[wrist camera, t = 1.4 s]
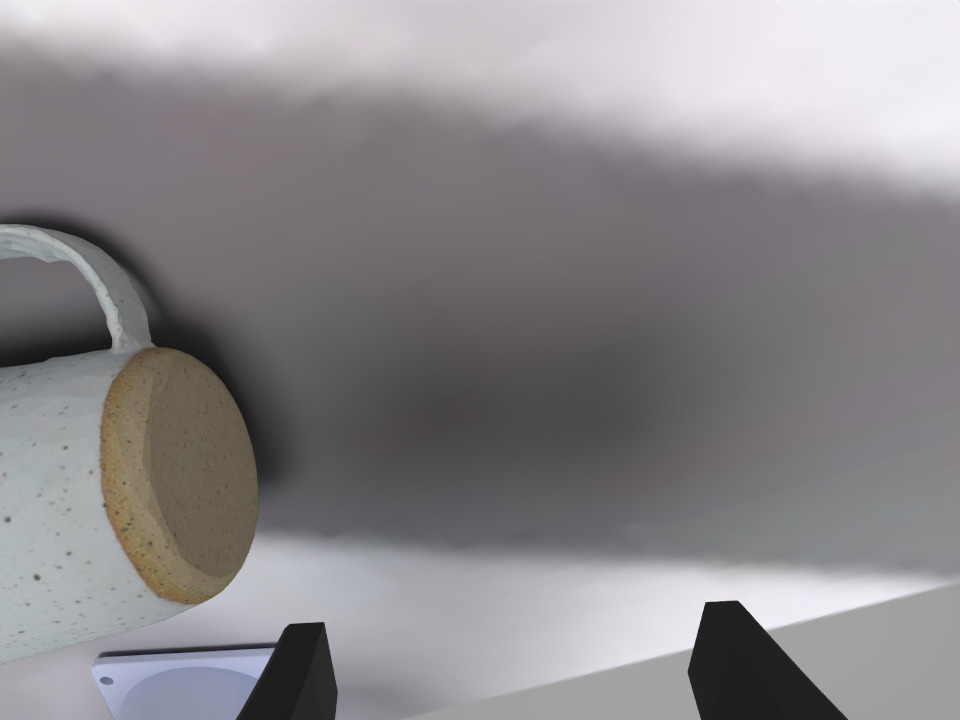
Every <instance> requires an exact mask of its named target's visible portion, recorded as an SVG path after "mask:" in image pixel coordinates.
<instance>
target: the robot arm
mask: <svg viewBox="0 0 960 720" xmlns="http://www.w3.org/2000/svg"><path fill="white" fill-rule="evenodd" d="M90 672H91V674H92V676H93V678H94V680H95V682H96V684H97V686H98V688H99V690H100V692H101V694H102V696H103V698H104V700H105V702H106V704H107V706H108V708H109V710H110V712H111V714H112V716H113V718H114V720H335V714H336V704H337V694H338V691H337V686H336V681H335V676H334V671H333V665H332V660H331V655H330V650H329V645H328V639H327V634H326V629H325V624H324V622H317V623H298V624H289V625H288V626H287V627H286V628H285V629H284V631H283V633H282V635H281V637H280V639H279V641H278V643H277V645H276V647H275V648H263V649H245V650H226V651H208V652H189V653H171V654H152V655H134V656H115V657H102V658H98V659H97V660H95V662H94V664H93V666H92V667H91V669H90ZM688 675H689V679H690V683H691V686H692V690H693V693H694V697H695V700H696V704H697V707H698V711H699V714H700V717H701V720H848V719H847V718H846V717H845V716H844V715H843V714H842V713H841V712H840V711H839V710H838V709H837V708H836V706H834V704H833V703H832V702H831V701H830V700H829V699H828V698H827V697H826V696H825V695H824V694H823V693H822V692H821V691H820V690H819V689H818V688H817V687H816V686H815V685H814V684H813V682H812V681H811V680H810V679H809V678H808V677H807V676H806V675H805V674H804V673H803V672H802V671H801V670H800V668H799V667H798V666H797V665H796V664H795V663H794V662H793V661H792V660H791V659H790V657H789V656H788V655H787V654H786V653H785V652H784V651H783V650H782V649H781V648H780V646H779V645H778V644H777V643H776V642H775V641H774V640H773V639H772V638H771V636H770V635H769V634H768V633H767V632H766V631H765V630H764V629H763V627H762V626H761V625H760V624H759V623H758V622H757V621H756V620H755V619H754V617H753V616H752V615H751V614H750V613H749V612H748V611H747V610H746V609H745V607H744V606H743V605H742V604H741V603H740V602H739V601H719V602H705V606H704V610H703V614H702V618H701V622H700V626H699V629H698V633H697V637H696V641H695V645H694V649H693V653H692V657H691V661H690V665H689V668H688Z"/></svg>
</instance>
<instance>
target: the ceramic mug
mask: <svg viewBox="0 0 960 720" xmlns="http://www.w3.org/2000/svg"><path fill="white" fill-rule="evenodd" d="M18 257H37V258H39V259H41V260H44V261H46V262H58V261H62V260H64V261H70V262H71V263H73V264H74V265H75V266H76V267H77V268H78V269H79V270H80V271H81V272H82V274H83V275H84V277H85V278H86V280H87V281H88V282H90V283H91V284H92V286H93V288H94V291H95V293H96V295H97V298H98V300H99V302H100V305H101V307H102V309H103V311H104V313H105V315H106V316H107V326H108V328H109V331H110V333H111V336H112V348H111V349H107V350H97V351H92V352H88V353H83V354H77V355H72V356H65V357H55V358H50V359H48V360H47V361H45V362H40V363H34V364H29V365H20V366H12V367H5V368H0V664H4V663H7V662H11V661H15V660H19V659H23V658H26V657H30V656H34V655H38V654H42V653H46V652H49V651H53V650H56V649H60V648H63V647H67V646H71V645H74V644H78V643H81V642H85V641H88V640H92V639H96V638H100V637H104V636H109V635H113V634H117V633H121V632H125V631H128V630H132V629H135V628H139V627H142V626H146V625H149V624H153V623H156V622H160V621H163V620H166V619H168V618H170V617H173V616H175V615H177V614H179V613H181V612H184V611H186V610H188V609H190V608H193V607H195V606H197V605H199V604H201V603H203V602H205V601H207V600H209V599H211V598H213V597H214V596H216V595H217V594H219V593H220V592H221V591H223V590H224V589H225V588H226V587H227V586H228V585H229V583H230V582H231V581H232V580H233V579H234V577H235V576H236V575H237V573H238V572H239V570H240V569H241V568H242V566H243V564H244V561H245V559H246V557H247V555H248V553H249V550H250V547H251V544H252V541H253V538H254V534H255V528H256V523H257V518H258V496H259V495H258V481H257V469H256V463H255V457H254V451H253V447H252V444H251V441H250V438H249V434H248V431H247V428H246V425H245V422H244V419H243V417H242V415H241V412H240V410H239V408H238V406H237V404H236V402H235V400H234V399H233V397H232V396H231V394H230V392H229V391H228V389H227V388H226V386H225V385H224V383H223V382H222V381H221V379H220V378H219V377H218V376H217V375H216V374H215V373H214V372H213V371H212V370H211V369H210V368H209V367H207V366H206V365H204V364H203V363H202V362H200V361H199V360H197V359H196V358H195V357H193V356H191V355H188V354H186V353H184V352H182V351H179V350H175V349H171V348H165V347H156V346H155V345H154V344H153V343H152V342H151V335H150V332H149V325H148V319H147V314H146V311H145V308H144V305H143V303H142V301H141V300H140V298H139V296H138V294H137V293H136V291H135V289H134V288H133V285H132V283H131V281H130V280H129V278H128V277H127V276H126V274H125V273H124V271H123V270H122V269H121V267H120V266H119V265H118V264H117V263H116V262H115V261H114V260H113V259H112V258H111V257H110V256H109V255H108V254H107V253H105V252H104V251H103V250H102V249H100V248H99V247H97V246H95V245H93V244H92V243H90V242H88V241H86V240H84V239H82V238H80V237H76V236H73V235H70V234H66V233H63V232H60V231H56V230H51V229H44V228H40V227H35V226H30V225H21V224H0V260H3V259H11V258H18Z"/></svg>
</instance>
